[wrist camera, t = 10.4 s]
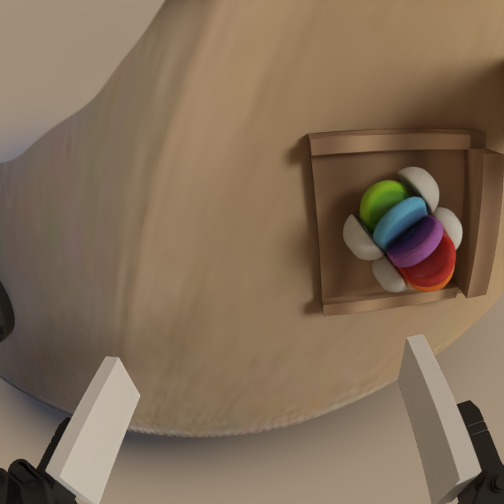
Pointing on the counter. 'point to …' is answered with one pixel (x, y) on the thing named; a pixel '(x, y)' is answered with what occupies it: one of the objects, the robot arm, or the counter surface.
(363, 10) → the counter surface
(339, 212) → the square wooden tray
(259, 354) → the counter surface
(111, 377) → the robot arm
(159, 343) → the counter surface
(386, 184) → the rainbow disc rattle
